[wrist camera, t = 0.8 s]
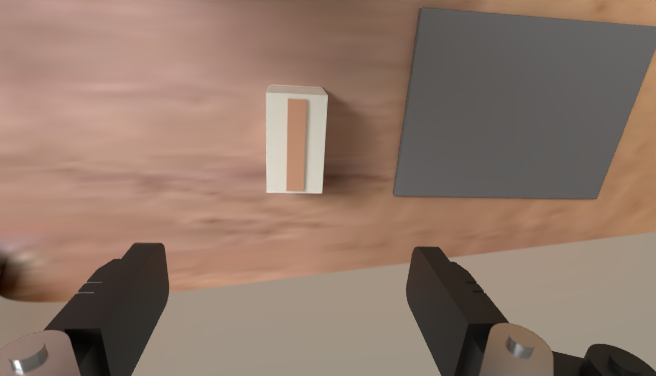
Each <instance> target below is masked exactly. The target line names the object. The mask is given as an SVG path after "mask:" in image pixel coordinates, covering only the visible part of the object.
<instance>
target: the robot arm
mask: <svg viewBox="0 0 656 376" xmlns="http://www.w3.org/2000/svg"><path fill="white" fill-rule="evenodd" d="M168 295H169V280H168V272H167V263H166V254H165V248H164V245H163V244H162V243H134V244H133V245H132V246H131V248H130V249H129V250H128V251H127V252H126V254H125V255H124V256H123V257H122V259H113V260H112V261H110V262H109V263H107V264H105V265H104V266H102V267H100V268H99V269H97V270H96V272H95V273H94V274H93V275H92V276H91V277H90V278H89V279H88V281H87V284H84V285H83V286H82V287H81V289H80V290H79V291H78V294H75V295H74V296H73V298H72V299H71V300H70V301H69V302H68V303H67V304H66V305H65V307H64V308H63V309H62V310H61V311H60V312H59V313H58V314H57V316H56V317H55V318H54V319H53V320H52V321H51V322H50V323H49V325H48V326H47V327H46V328H45V329H44V330H43V331H39V332H34V333H31V334H28V335H25V336H22V337H20V338H18V339H16V340H14V341H12V342H10V343H8V344H6V345H5V346H3V347H2V348H1V349H0V376H131V375H132V373H133V371H134V369H135V367H136V365H137V363H138V361H139V359H140V357H141V355H142V353H143V351H144V349H145V346H146V344H147V342H148V340H149V338H150V336H151V334H152V332H153V330H154V328H155V326H156V324H157V322H158V320H159V318H160V316H161V314H162V312H163V310H164V308H165V306H166V303H167V300H168ZM406 296H407V301H408V304H409V307H410V309H411V311H412V313H413V315H414V317H415V320H416V322H417V324H418V326H419V328H420V330H421V332H422V335H423V337H424V339H425V341H426V343H427V346H428V348H429V350H430V352H431V354H432V356H433V359H434V361H435V363H436V365H437V367H438V369H439V372H440V374H441V376H656V371H655V370H653V369H652V368H651V367H650V366H649V365H648V364H646V363H645V362H644V361H642V360H641V359H640V358H638V357H636V356H635V355H633V354H631V353H629V352H627V351H625V350H623V349H620V348H617V347H614V346H611V345H607V344H594V345H592V346H590V347H589V348H588V350H587V353H586V355H585V357H584V358H580V357H575V356H571V355H567V354H562V353H558V352H554V351H551V349H550V347H549V346H548V345H547V343H546V342H545V341H544V340H543V339H542V338H540V337H539V336H538V335H537V334H535V333H534V332H532V331H530V330H528V329H526V328H524V327H522V326H519V325H515V324H511V323H509V322H508V321H507V319H506V318H505V317H504V316H503V315H502V313H501V312H500V311H499V309H498V308H497V307H496V306H495V305H494V303H493V302H492V301H491V300H490V298H489V297H488V296H487V294H486V293H484V291H483V290H482V288H481V287H480V286H479V285H478V284H477V283H476V281H475V279H474V278H473V277H472V276H471V274H470V273H469V272H468V271H467V270H465V269H464V268H462V267H461V266H460V265H458V264H457V263H455V262H450V261H449V260H448V258H447V257H446V256H445V254H444V253H443V252H442V250H441V249H440V248H439V247H415V248H414V250H413V253H412V258H411V264H410V269H409V274H408V280H407V285H406Z"/></svg>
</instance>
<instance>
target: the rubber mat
mask: <svg viewBox="0 0 656 376" xmlns="http://www.w3.org/2000/svg"><path fill="white" fill-rule="evenodd" d="M655 49H656V27H655V26H642V25H630V24H618V23H606V22H594V21H581V20H569V19H557V18H545V17H533V16H520V15H508V14H496V13H484V12H472V11H459V10H447V9H435V8H423V7H422V8H420V11H419V18H418V24H417V31H416V38H415V45H414V52H413V59H412V66H411V73H410V80H409V87H408V94H407V100H406V107H405V114H404V121H403V128H402V135H401V142H400V149H399V156H398V163H397V170H396V176H395V183H394V190H393V194H394V196H439V197H502V198H566V199H597V197H598V194H599V191H600V189H601V186H602V184H603V181H604V179H605V176H606V174H607V171H608V168H609V166H610V163H611V161H612V158H613V156H614V153H615V151H616V148H617V146H618V143H619V140H620V138H621V135H622V133H623V130H624V128H625V125H626V123H627V120H628V117H629V115H630V112H631V110H632V107H633V105H634V102H635V100H636V97H637V94H638V92H639V89H640V87H641V84H642V82H643V79H644V77H645V74H646V72H647V69H648V66H649V64H650V61H651V59H652V56H653V54H654V51H655Z"/></svg>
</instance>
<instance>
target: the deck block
mask: <svg viewBox="0 0 656 376" xmlns="http://www.w3.org/2000/svg"><path fill="white" fill-rule="evenodd" d="M327 101H328V95H327V94H326V92H325V91H324V90H323V88H322V87H316V86H296V85H277V84H270V85H269V87H268V89H267V91H266V170H267V193H322V186H323V169H324V152H325V135H326V118H327Z"/></svg>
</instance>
